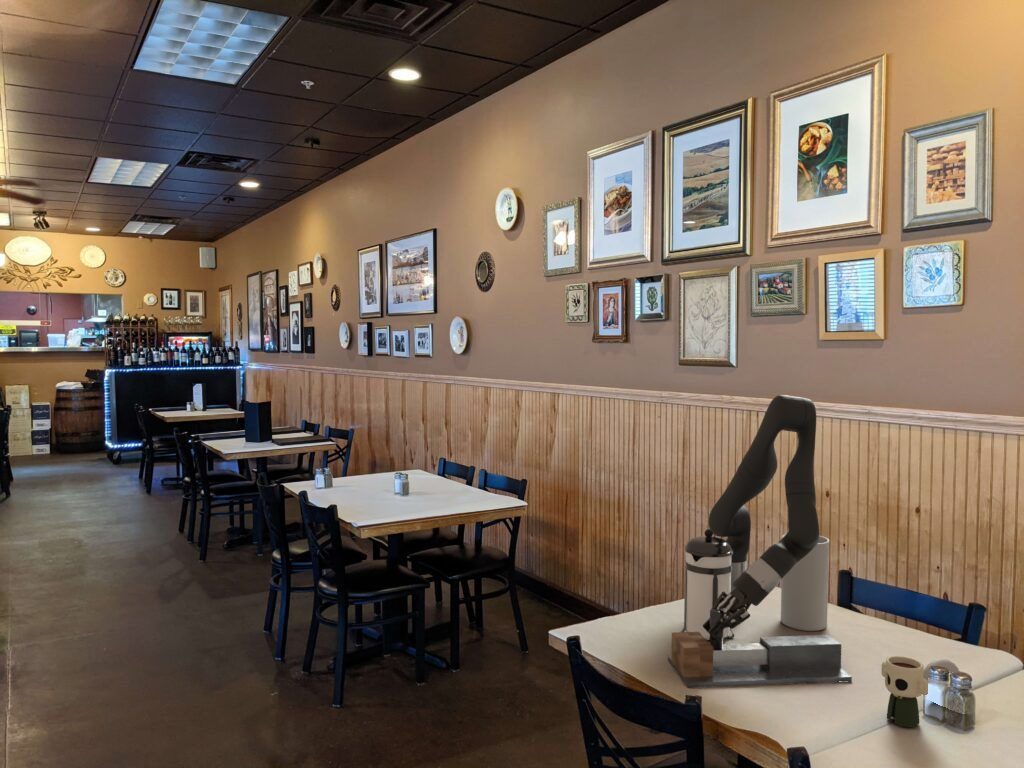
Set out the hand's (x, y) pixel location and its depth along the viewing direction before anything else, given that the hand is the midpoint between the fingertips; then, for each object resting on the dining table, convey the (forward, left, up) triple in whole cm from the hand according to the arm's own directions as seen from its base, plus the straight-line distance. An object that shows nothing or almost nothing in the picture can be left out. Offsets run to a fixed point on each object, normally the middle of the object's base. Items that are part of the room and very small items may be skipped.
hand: (708, 632), depth 186 cm
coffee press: (-23, +8, -10) cm, 27 cm away
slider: (0, +9, -8) cm, 11 cm away
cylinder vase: (-30, +39, -10) cm, 51 cm away
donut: (+20, +46, -10) cm, 52 cm away
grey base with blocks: (0, +12, -10) cm, 16 cm away
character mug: (+28, +32, -10) cm, 44 cm away
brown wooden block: (0, -4, -9) cm, 10 cm away
